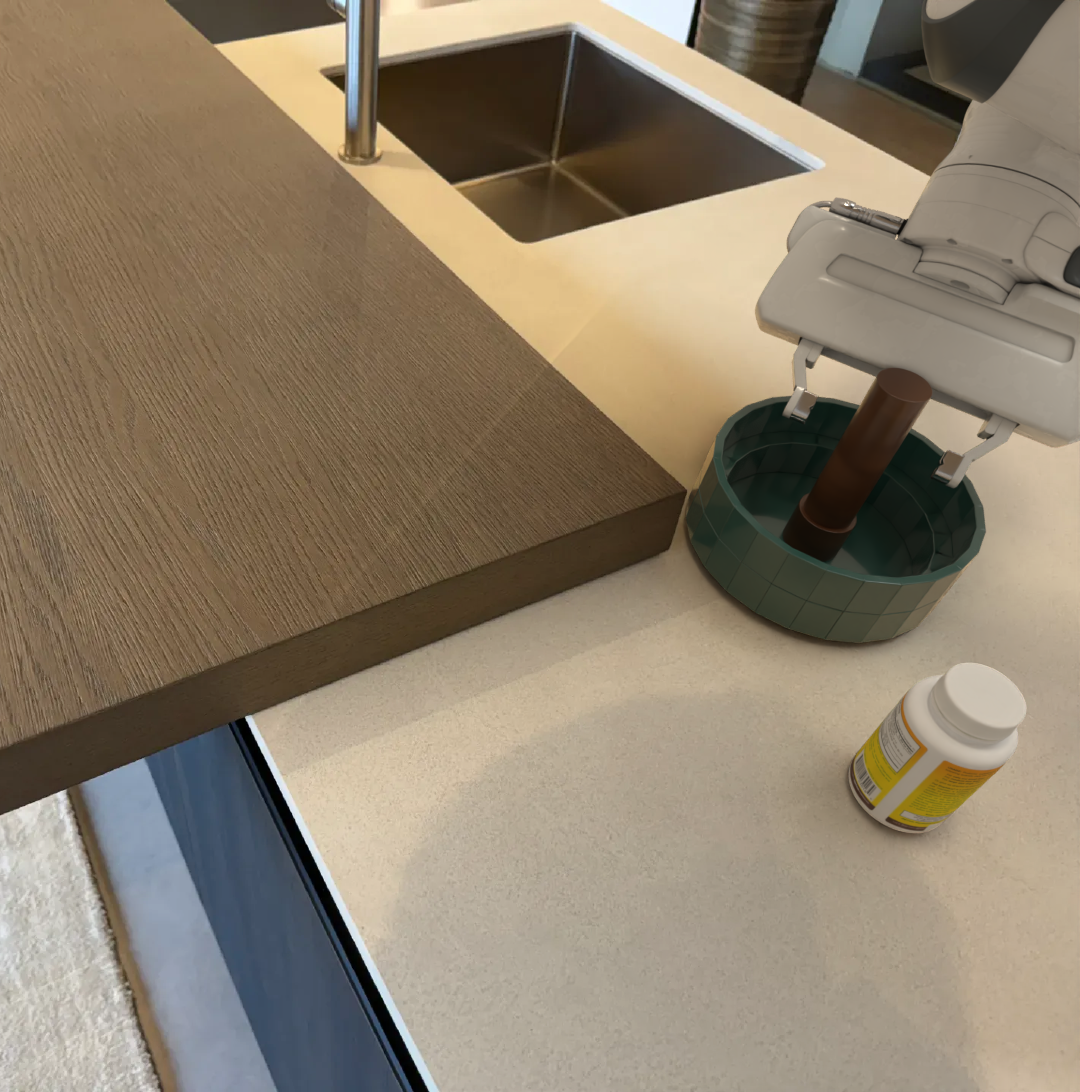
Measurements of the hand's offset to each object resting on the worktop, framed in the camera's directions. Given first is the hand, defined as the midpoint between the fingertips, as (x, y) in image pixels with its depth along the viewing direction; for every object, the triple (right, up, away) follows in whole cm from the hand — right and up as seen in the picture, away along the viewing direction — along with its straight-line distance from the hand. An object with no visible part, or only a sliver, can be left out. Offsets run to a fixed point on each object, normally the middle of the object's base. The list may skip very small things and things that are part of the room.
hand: (866, 450), depth 64 cm
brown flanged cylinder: (0, -6, +7) cm, 9 cm away
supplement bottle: (-1, -20, -5) cm, 21 cm away
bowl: (0, -6, +7) cm, 10 cm away
